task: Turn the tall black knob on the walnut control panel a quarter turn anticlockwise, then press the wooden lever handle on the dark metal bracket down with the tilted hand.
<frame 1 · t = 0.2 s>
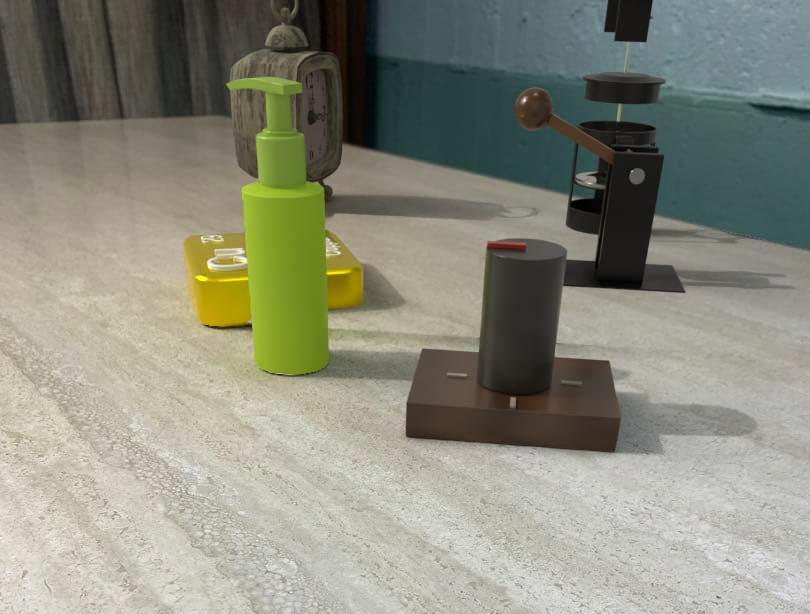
hand: (623, 37, 80), 22 cm above the table, tool pointing down, fingers open, 13 cm apart
panel: (510, 412, 62), on the table
soap dispenser: (287, 362, 70), on the table
bracket: (615, 286, 88), on the table
element tile: (272, 299, 82), on the table
french press: (602, 237, 104), on the table
lever: (582, 139, 81), point 13 cm above the table, hinge at 26.0°
tabletop clock: (292, 206, 115), on the table
knob: (520, 314, 58), point 7 cm above the table, hinge at 0.0°
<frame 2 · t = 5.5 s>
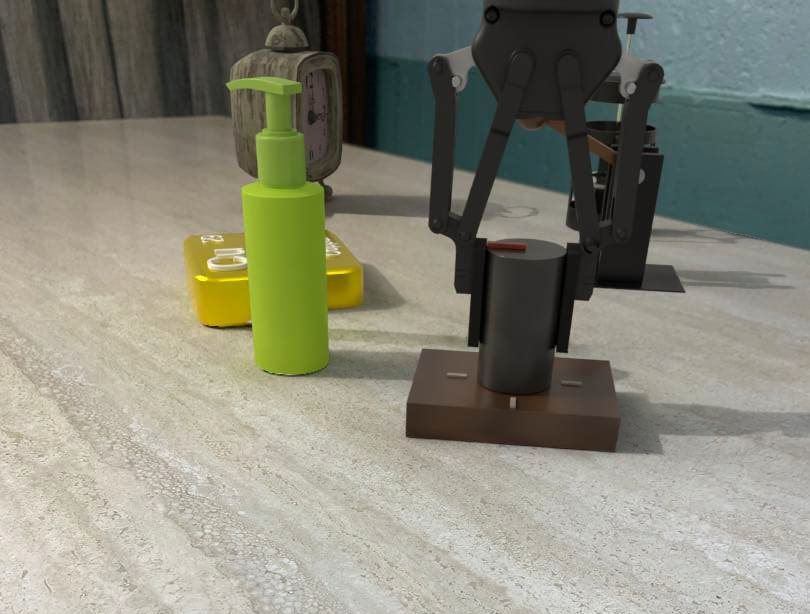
hand: (517, 342, 59), 5 cm above the table, tool pointing down, fingers closed on knob, 5 cm apart
knob: (520, 314, 58), point 7 cm above the table, hinge at 0.1°, touching gripper
everything else where it was.
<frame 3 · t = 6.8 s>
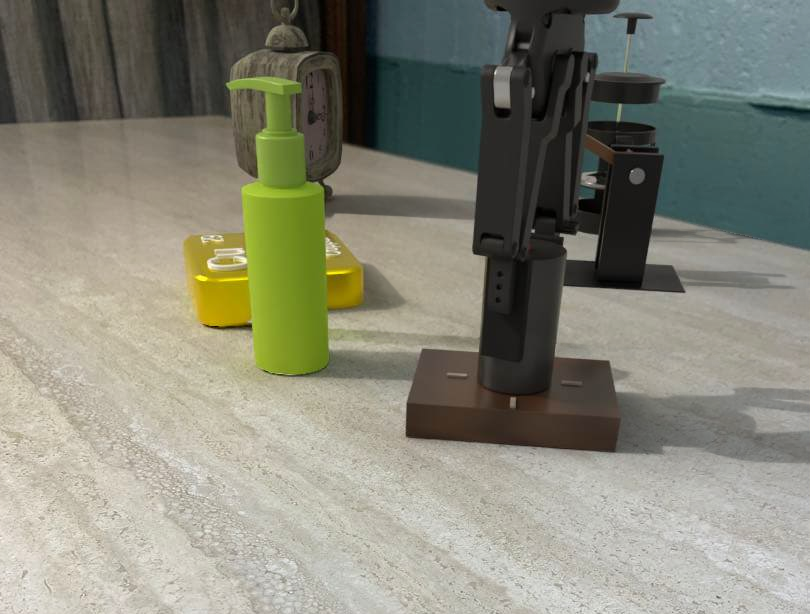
hand: (517, 342, 59), 5 cm above the table, tool pointing down, fingers closed on knob, 5 cm apart
knob: (520, 314, 58), point 7 cm above the table, hinge at 69.9°, touching gripper
everything else where it was.
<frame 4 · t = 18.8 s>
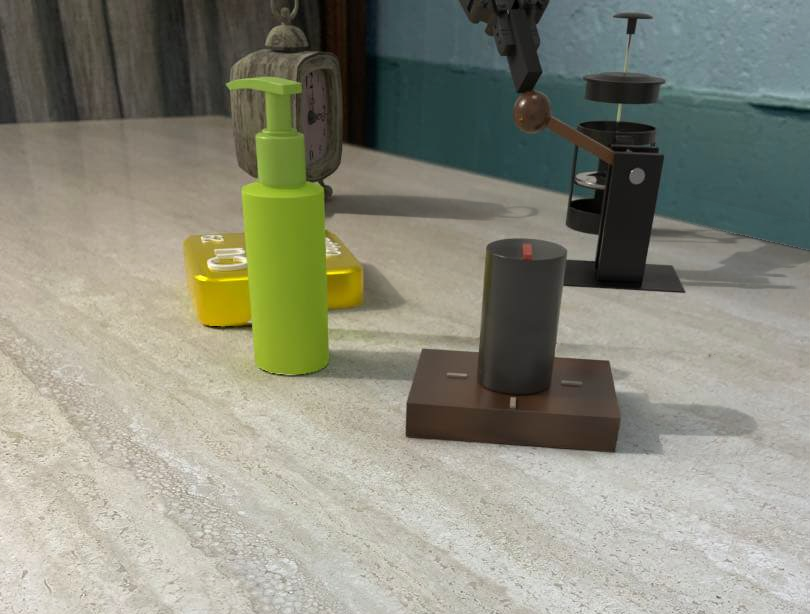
hand: (529, 82, 79), 18 cm above the table, tool tilted 45°, fingers closed
lever: (581, 140, 81), point 13 cm above the table, hinge at 24.5°, touching gripper
knob: (520, 314, 58), point 7 cm above the table, hinge at 91.4°
everything else where it was.
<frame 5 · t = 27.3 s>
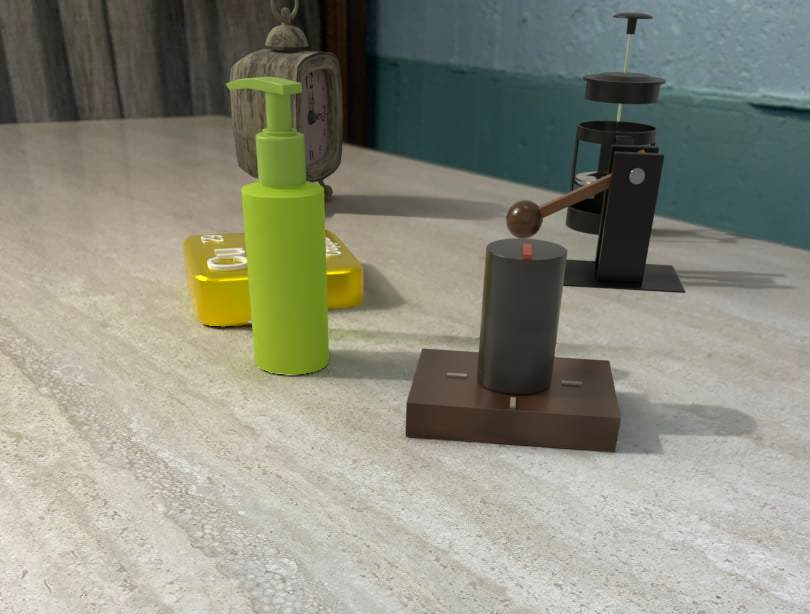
lever: (575, 196, 83), point 8 cm above the table, hinge at -26.9°
everything else where it was.
at the end: knob at +91° (first picture: +0°); lever at -27° (first picture: +26°) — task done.
